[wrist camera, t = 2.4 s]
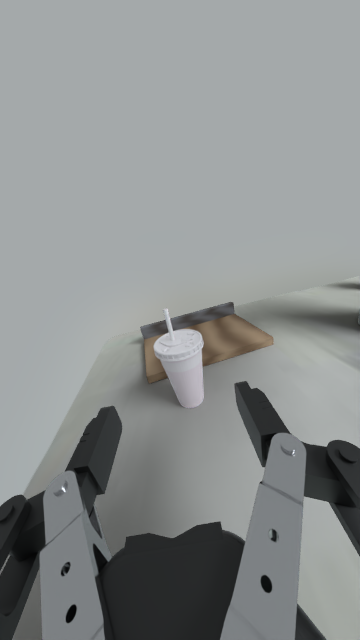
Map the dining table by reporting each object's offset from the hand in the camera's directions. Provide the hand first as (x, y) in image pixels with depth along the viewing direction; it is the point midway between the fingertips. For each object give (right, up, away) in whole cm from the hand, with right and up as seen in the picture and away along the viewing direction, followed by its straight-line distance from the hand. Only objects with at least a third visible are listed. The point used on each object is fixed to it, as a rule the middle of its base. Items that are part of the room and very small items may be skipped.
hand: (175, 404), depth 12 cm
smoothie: (+2, -6, +15) cm, 16 cm away
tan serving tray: (+5, 0, +28) cm, 29 cm away
